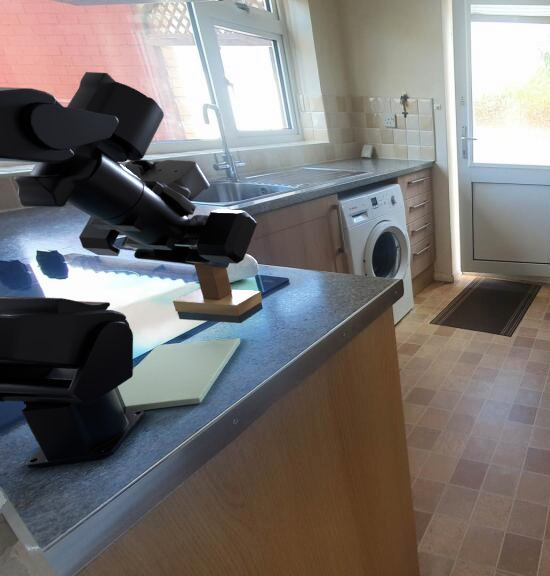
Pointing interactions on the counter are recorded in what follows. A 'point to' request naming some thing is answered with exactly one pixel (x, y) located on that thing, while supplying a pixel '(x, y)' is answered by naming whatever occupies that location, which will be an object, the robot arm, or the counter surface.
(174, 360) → the board
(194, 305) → the brush
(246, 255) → the white curved figure
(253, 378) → the counter surface
